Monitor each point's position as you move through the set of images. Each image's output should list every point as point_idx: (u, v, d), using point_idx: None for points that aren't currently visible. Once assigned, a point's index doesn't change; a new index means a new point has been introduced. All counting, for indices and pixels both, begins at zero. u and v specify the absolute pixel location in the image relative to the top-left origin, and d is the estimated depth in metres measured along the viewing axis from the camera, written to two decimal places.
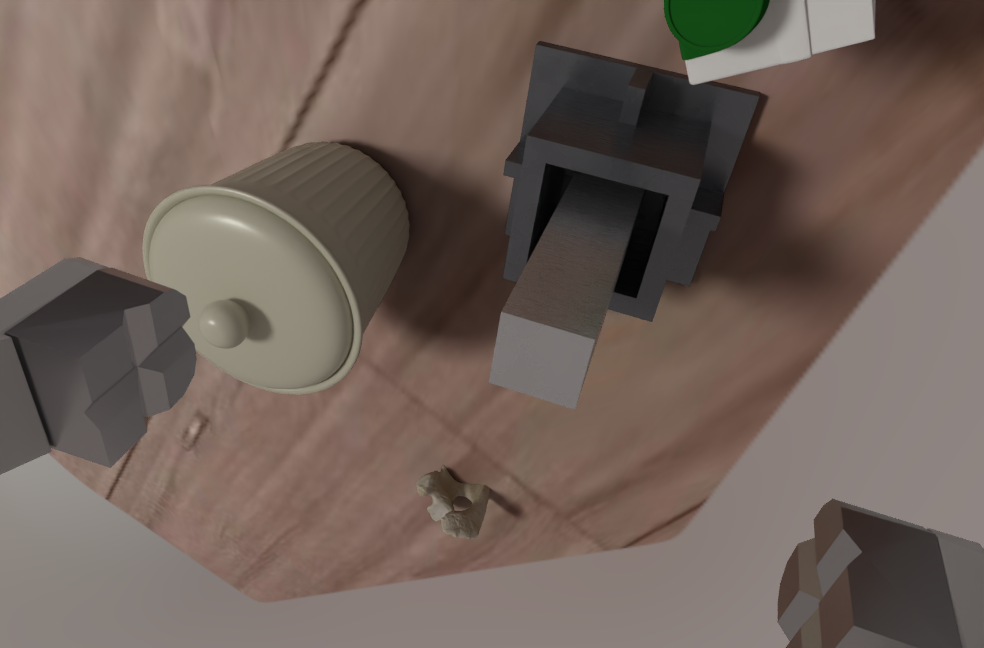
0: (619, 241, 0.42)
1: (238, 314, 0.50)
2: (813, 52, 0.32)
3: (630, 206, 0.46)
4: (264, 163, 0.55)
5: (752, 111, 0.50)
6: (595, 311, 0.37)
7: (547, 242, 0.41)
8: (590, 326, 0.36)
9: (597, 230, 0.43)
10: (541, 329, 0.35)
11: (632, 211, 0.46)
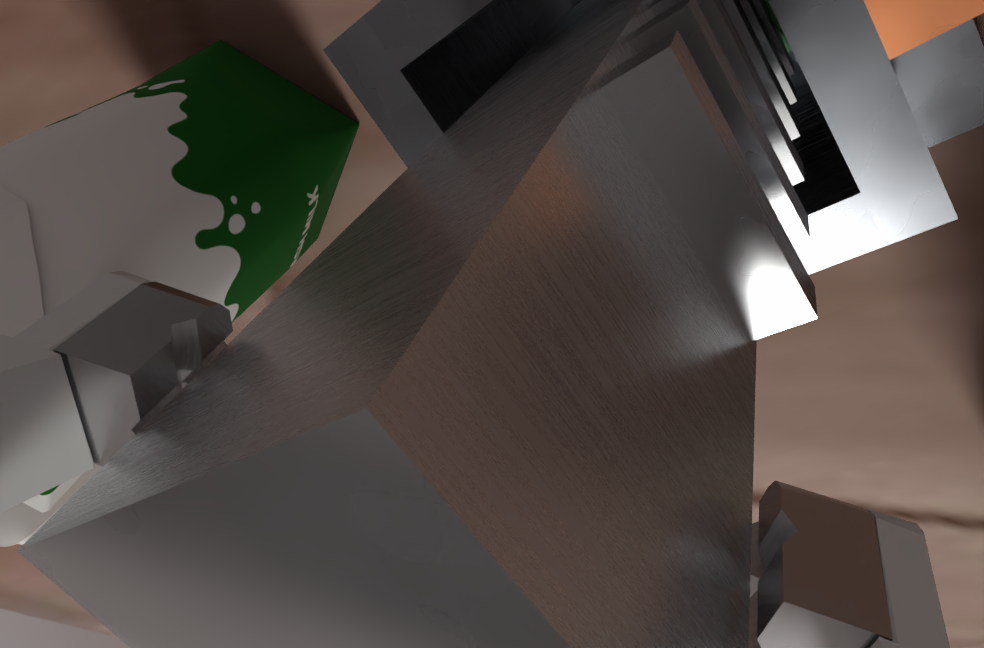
0: None
1: None
2: None
3: None
4: None
5: None
6: None
7: None
8: None
9: None
10: None
11: None
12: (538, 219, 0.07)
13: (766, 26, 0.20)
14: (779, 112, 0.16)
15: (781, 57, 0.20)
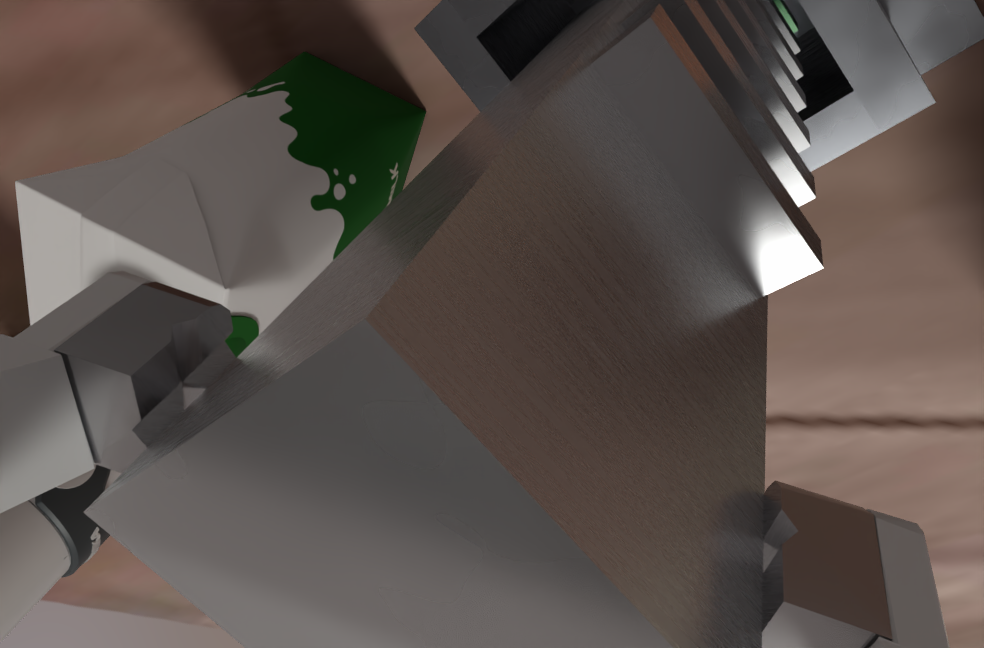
0: None
1: None
2: (79, 215, 0.23)
3: None
4: None
5: None
6: None
7: None
8: None
9: None
10: None
11: None
12: (527, 175, 0.07)
13: (768, 7, 0.20)
14: (783, 85, 0.16)
15: (786, 36, 0.20)
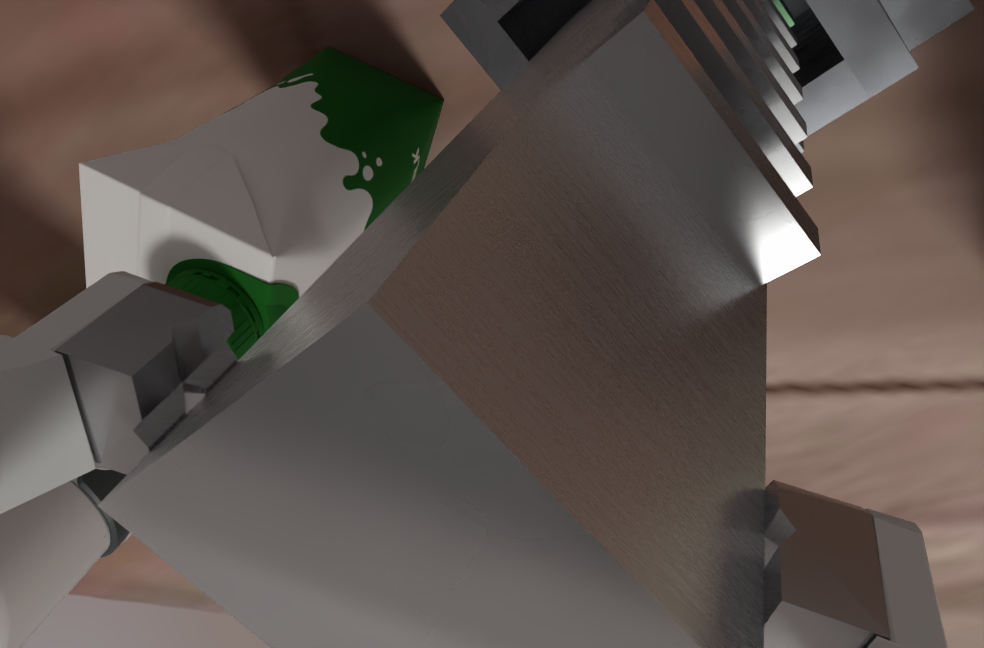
0: None
1: None
2: (138, 193, 0.25)
3: None
4: None
5: None
6: None
7: None
8: None
9: None
10: None
11: None
12: (524, 165, 0.07)
13: (763, 2, 0.20)
14: (779, 78, 0.16)
15: (782, 30, 0.20)
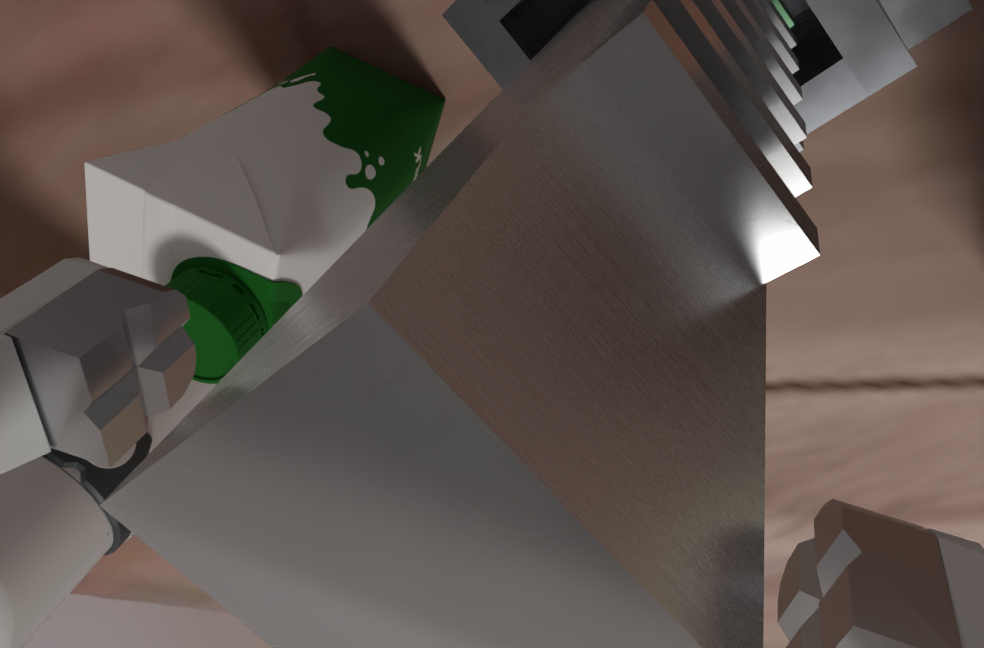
0: None
1: None
2: (143, 192, 0.25)
3: None
4: None
5: None
6: None
7: None
8: None
9: None
10: None
11: None
12: (524, 166, 0.07)
13: (762, 3, 0.20)
14: (779, 79, 0.16)
15: (781, 30, 0.20)
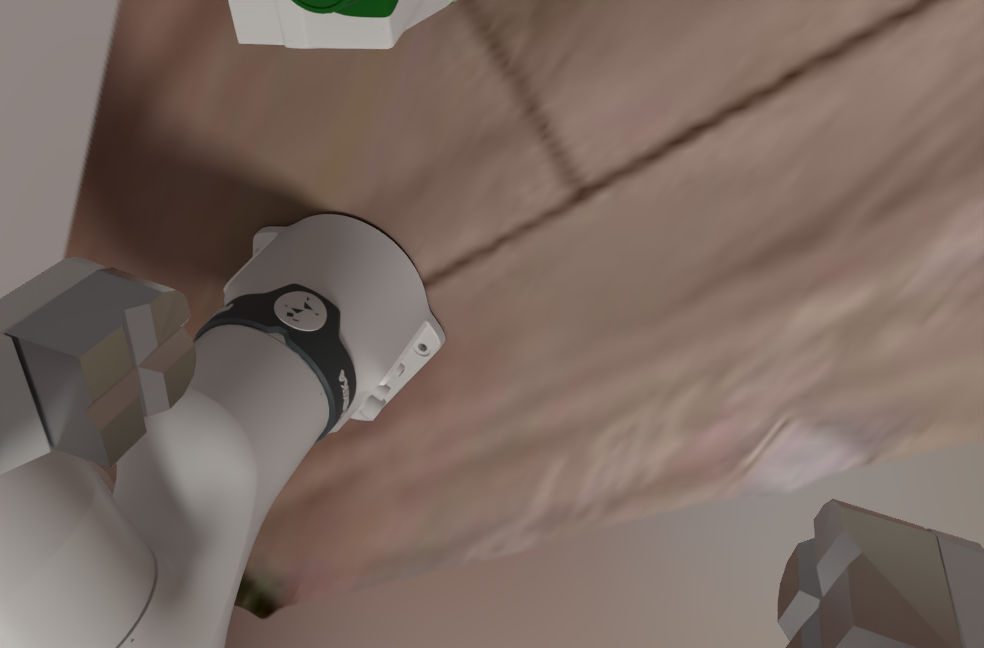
0: None
1: None
2: None
3: None
4: None
5: None
6: None
7: None
8: None
9: None
10: None
11: None
12: None
13: None
14: None
15: None
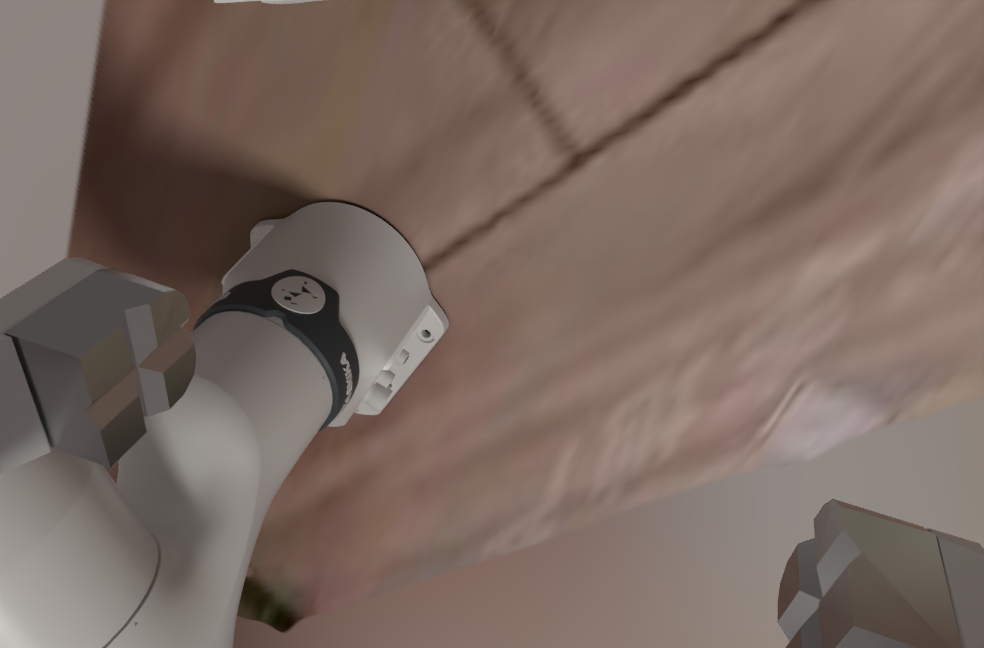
0: None
1: None
2: None
3: None
4: None
5: None
6: None
7: None
8: None
9: None
10: None
11: None
12: None
13: None
14: None
15: None
